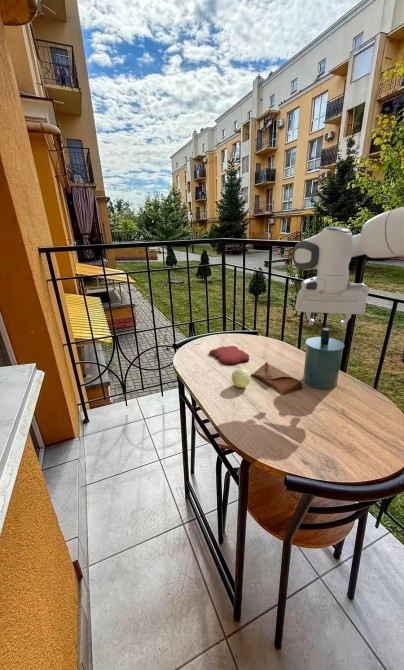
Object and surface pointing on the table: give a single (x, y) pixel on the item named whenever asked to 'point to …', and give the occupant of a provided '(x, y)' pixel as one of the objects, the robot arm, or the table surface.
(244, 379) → the tennis ball
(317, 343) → the lid
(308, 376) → the tin
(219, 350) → the red cloth
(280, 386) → the sunglasses case
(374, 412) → the table surface
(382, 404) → the table surface
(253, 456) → the table surface
